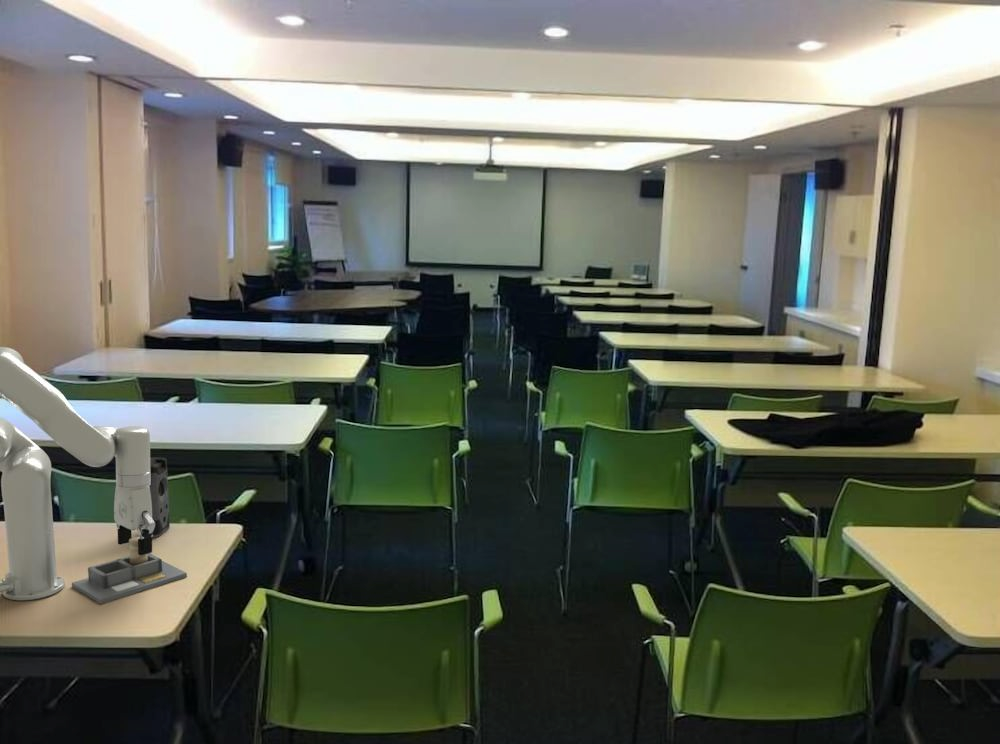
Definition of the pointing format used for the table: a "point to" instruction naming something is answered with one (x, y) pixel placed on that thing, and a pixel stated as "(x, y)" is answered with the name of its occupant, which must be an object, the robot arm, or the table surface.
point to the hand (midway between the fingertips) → (134, 548)
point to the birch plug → (136, 553)
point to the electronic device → (159, 495)
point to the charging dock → (126, 578)
